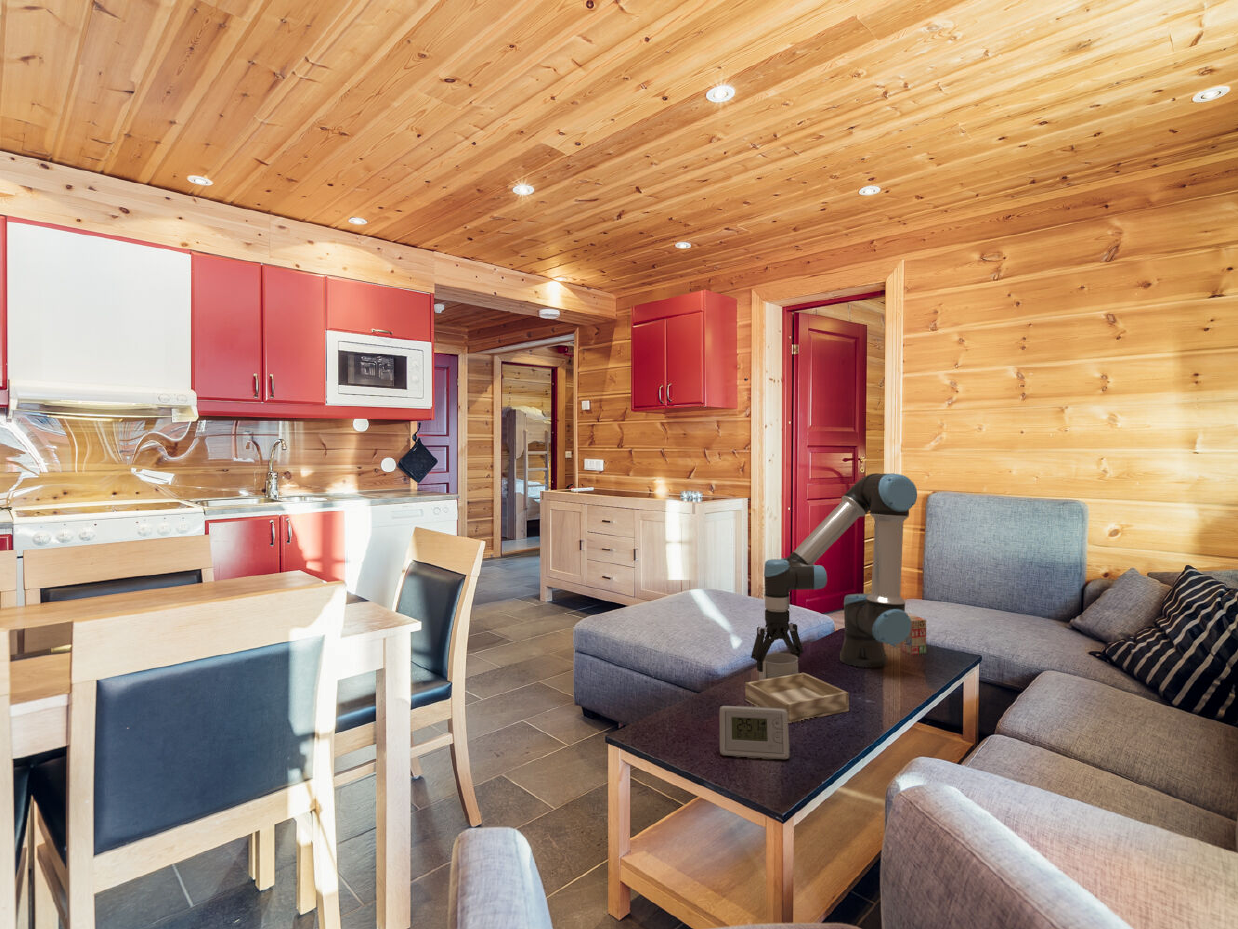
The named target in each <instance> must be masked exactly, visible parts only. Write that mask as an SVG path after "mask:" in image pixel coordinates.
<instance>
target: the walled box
mask: <svg viewBox="0 0 1238 929" xmlns="http://www.w3.org/2000/svg"><path fill="white" fill-rule="evenodd" d="M744 688H745V689H744V691H745V693H744V694H745V701H746V702H749V704H751V705H753V704H754V705H753V706H754V707H770V708H778V709H785V710H786V711H787V714H788V723H789V724H792V722H793V723H797V721H798V722H802V721H801V720H803V721H805V720H804V719H808V720H810V719H809V718H812V719H815V718H814V717H817V718H821V717H826V716H831V715H834V714H840V713H845V712H846V713H847V712H849V711H850V706H849V705H850V702H849V700H850V698H849V691H848V692H847V691H846V690H843V689H841V688H839V687H837V686H835V685H832V684H830V683H828V682H826V681H824V680H821V679H819V678H817V677H814V676H812V675H810V674H808V673H805V672H801V673H800V672H798V674H793V675H787V676H781V677H776V678H770V679H764V680H759V679H758V680H754V681H748V682H745V684H744Z"/></svg>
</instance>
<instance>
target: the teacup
mask: <svg viewBox="0 0 1238 929" xmlns="http://www.w3.org/2000/svg"><path fill="white" fill-rule="evenodd" d="M764 661H765V662H766V679H770V678H776V677H781V676H787V675H793V674H798V673H799V657H797V656H795V655H793V654H791V653H788V652H778V651H772V653H767V654H766V657H765V659H764Z"/></svg>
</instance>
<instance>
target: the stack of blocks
mask: <svg viewBox="0 0 1238 929" xmlns="http://www.w3.org/2000/svg"><path fill="white" fill-rule="evenodd" d="M906 613H907V615H908V616H909V617H910V619H911V631H910V633H909V635H908V637H907V638H906V639H904V640H903V641H902V642H901V643H898V644H894V645H892V646H891V647H893V646H894V647H893V648H896V649H898V648H899V650H900V651H902V652H905V653H907V652H908V653H907V654H909V653H910V654H909V655H920V654H921V655H923V654H927V620H926V619H925V618H922V617H920V616H918V615H915V614H911V613H908V612H906Z"/></svg>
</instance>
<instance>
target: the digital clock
mask: <svg viewBox="0 0 1238 929" xmlns="http://www.w3.org/2000/svg"><path fill="white" fill-rule="evenodd" d="M718 716H719V719H718V720H719V753H720V755H722V756H725V757H726V756H727V757H735V758H740V757H747V758H746V759H756V758H762V759H761V760H771V759H772V760H773V759H775V760H787V759H789V758H790V738H789V737H790V736H789V724H788V714H787V711H786V710H785V709H778V708H770V707H757V706H751V705H750V706H749V705H747V706H746V705H736V706H735V705H734V706H733V705H722V706H720V707H719V715H718ZM773 761H774V760H773Z"/></svg>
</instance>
